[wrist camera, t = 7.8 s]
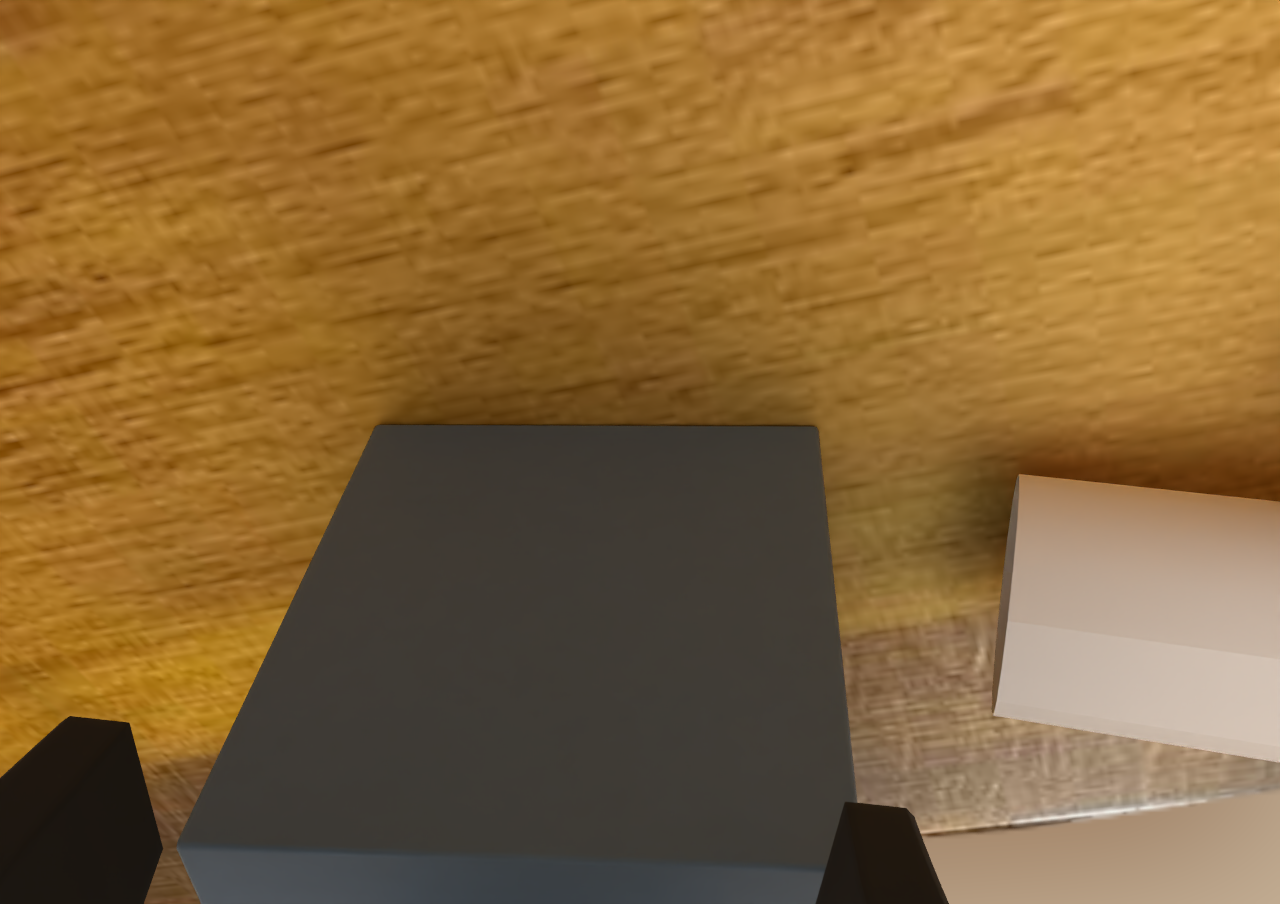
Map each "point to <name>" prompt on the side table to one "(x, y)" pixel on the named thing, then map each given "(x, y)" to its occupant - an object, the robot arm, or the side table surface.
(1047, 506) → the toilet paper hanger
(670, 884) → the stand
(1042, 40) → the side table surface
